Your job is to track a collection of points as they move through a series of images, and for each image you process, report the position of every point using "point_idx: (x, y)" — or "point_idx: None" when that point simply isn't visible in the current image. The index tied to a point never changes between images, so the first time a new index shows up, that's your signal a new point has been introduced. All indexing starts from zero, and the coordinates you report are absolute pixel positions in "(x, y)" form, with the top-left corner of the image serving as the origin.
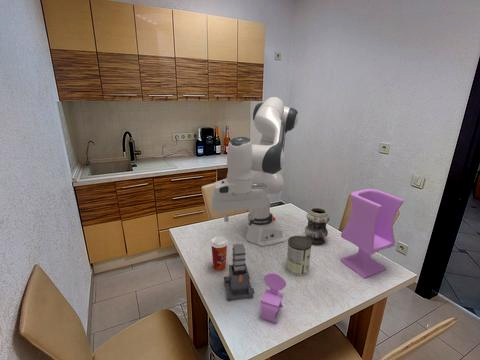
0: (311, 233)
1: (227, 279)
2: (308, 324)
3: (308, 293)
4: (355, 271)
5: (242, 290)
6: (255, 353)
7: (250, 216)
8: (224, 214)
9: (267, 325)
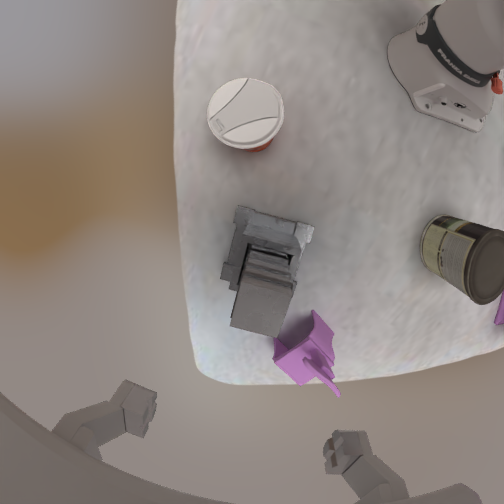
0: None
1: (244, 220)
2: (344, 377)
3: (402, 323)
4: (500, 304)
5: None
6: (230, 383)
7: (326, 470)
8: (101, 440)
9: None
